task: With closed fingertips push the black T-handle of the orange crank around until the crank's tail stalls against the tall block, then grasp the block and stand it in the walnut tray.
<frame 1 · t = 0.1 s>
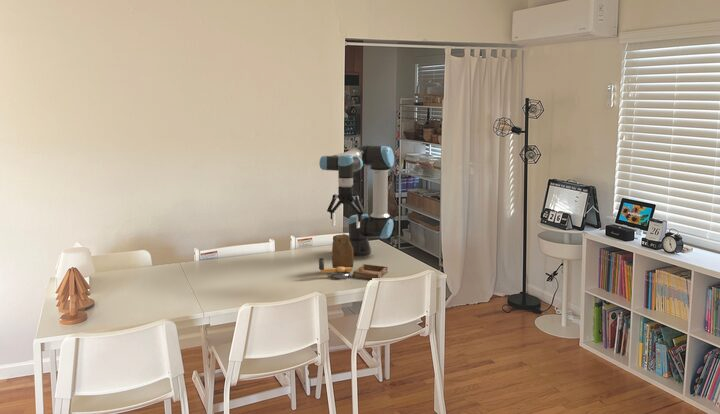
hand: (345, 226, 318), 28 cm above the table, fingers open, 13 cm apart
block: (343, 271, 338), on the table
crank base: (340, 276, 327), on the table
tray: (370, 274, 331), on the table
crank: (335, 264, 326), point 7 cm above the table, hinge at -60.0°
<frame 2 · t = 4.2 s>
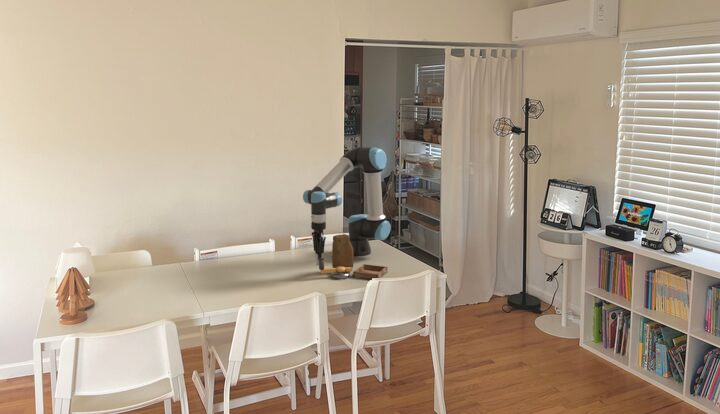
hand: (318, 265, 327), 6 cm above the table, fingers closed
crank: (335, 264, 326), point 7 cm above the table, hinge at -59.0°, touching gripper
everything else where it was.
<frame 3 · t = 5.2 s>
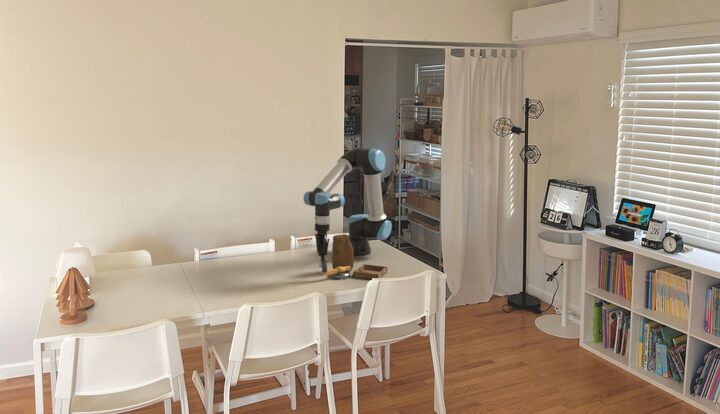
hand: (321, 267, 322), 6 cm above the table, fingers closed
crank: (336, 265, 325), point 7 cm above the table, hinge at -31.5°, touching gripper
everything else where it was.
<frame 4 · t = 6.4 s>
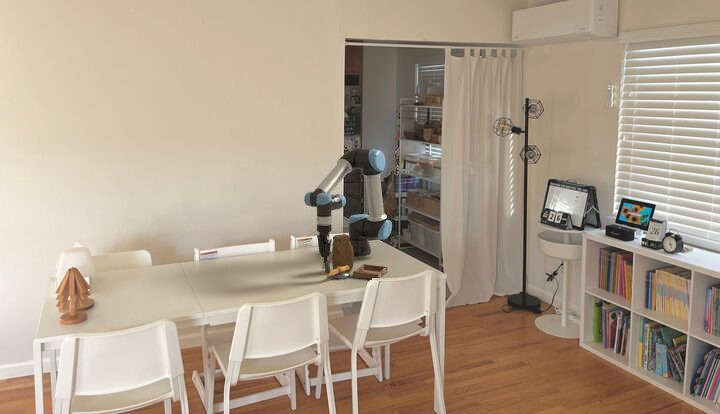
hand: (324, 268, 321), 6 cm above the table, fingers closed
crank: (337, 265, 324), point 7 cm above the table, hinge at -17.6°, touching gripper
everything else where it was.
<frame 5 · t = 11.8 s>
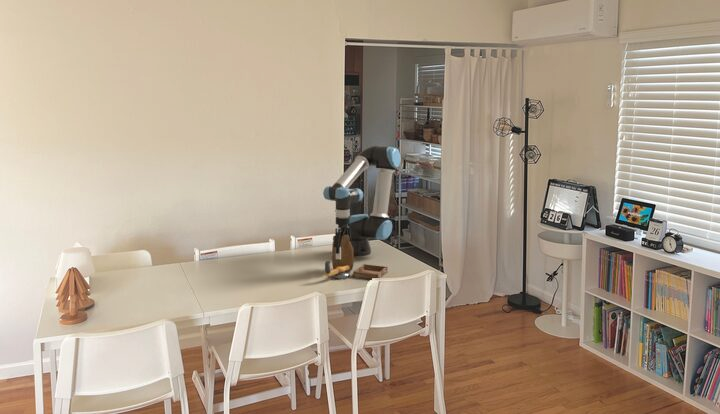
hand: (342, 256, 336), 8 cm above the table, fingers closed on block, 11 cm apart
block: (343, 271, 338), on the table, touching gripper
crank: (337, 265, 324), point 7 cm above the table, hinge at -17.9°
when the fingers open (10 cm above the table, at t = 17.4 s): block drops 1 cm, resting on tray.
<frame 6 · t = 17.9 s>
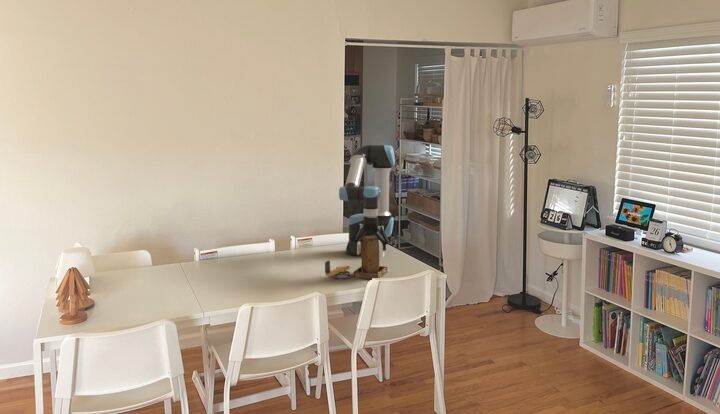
hand: (370, 255, 328), 11 cm above the table, fingers open, 13 cm apart
block: (369, 273, 331), resting on tray
everything else where it was.
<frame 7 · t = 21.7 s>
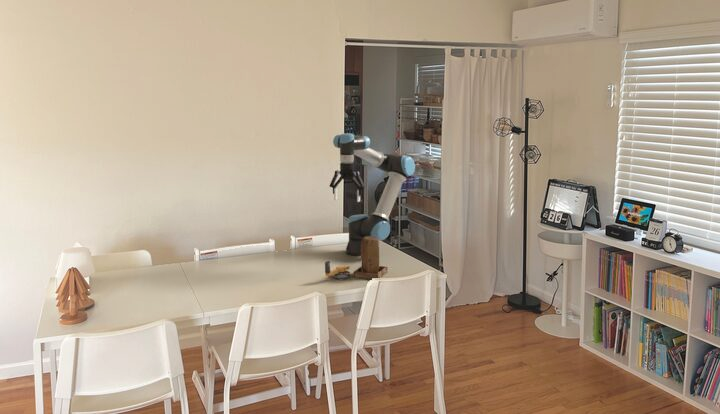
hand: (347, 200, 341), 37 cm above the table, fingers open, 13 cm apart
nothing on the table moved.
at the end: block 0.6 cm from the tray (horizontally); block tilted 0°; crank at -18° (first picture: -60°) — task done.
